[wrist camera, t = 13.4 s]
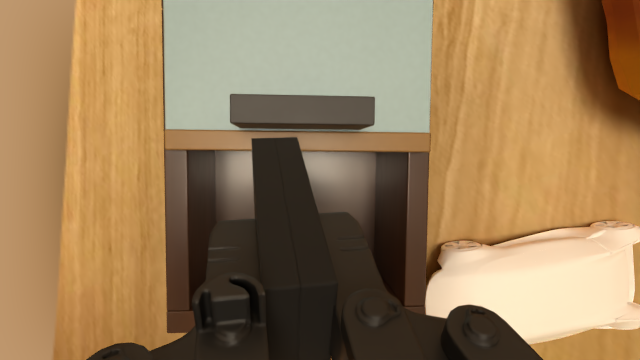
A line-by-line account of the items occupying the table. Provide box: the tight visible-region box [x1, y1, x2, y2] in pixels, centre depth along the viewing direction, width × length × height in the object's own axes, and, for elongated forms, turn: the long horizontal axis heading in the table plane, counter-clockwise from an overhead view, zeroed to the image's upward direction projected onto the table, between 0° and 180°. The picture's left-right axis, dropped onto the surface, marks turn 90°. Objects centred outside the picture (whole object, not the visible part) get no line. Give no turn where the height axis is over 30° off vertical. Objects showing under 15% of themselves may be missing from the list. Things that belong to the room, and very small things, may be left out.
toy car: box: [425, 221, 640, 344], centre depth 30 cm, size 18×8×4 cm, turn 97°
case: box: [162, 0, 433, 333], centre depth 26 cm, size 14×18×9 cm
